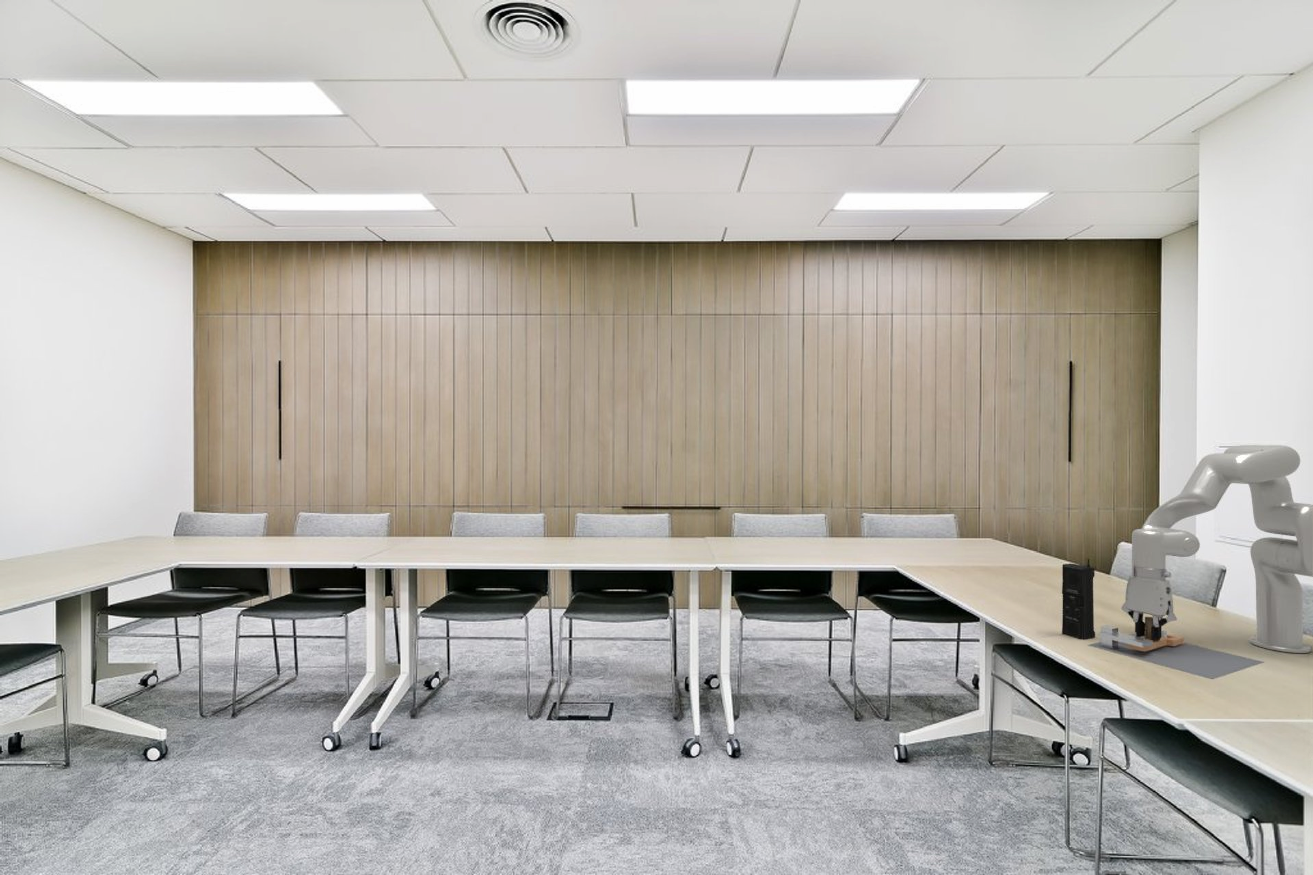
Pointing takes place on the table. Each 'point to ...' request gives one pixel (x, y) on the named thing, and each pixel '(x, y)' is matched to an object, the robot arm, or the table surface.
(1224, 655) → the pintle board
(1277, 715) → the table surface
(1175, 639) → the link
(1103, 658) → the table surface
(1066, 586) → the portable radio
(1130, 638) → the keeper
